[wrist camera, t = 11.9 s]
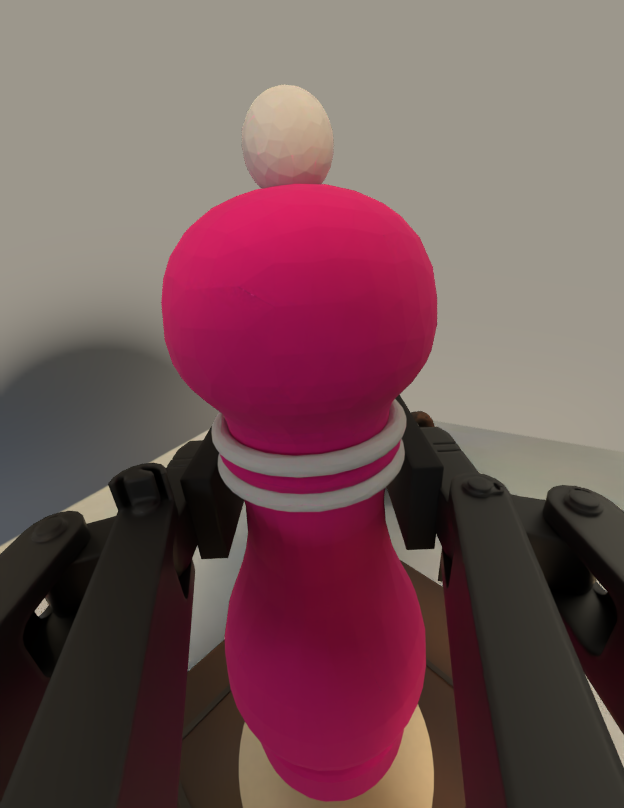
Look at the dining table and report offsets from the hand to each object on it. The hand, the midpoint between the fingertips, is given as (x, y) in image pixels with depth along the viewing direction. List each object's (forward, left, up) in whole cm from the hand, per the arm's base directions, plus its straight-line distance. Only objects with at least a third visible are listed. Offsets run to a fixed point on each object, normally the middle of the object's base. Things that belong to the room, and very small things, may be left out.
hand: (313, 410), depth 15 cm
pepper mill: (+4, +4, -11) cm, 12 cm away
